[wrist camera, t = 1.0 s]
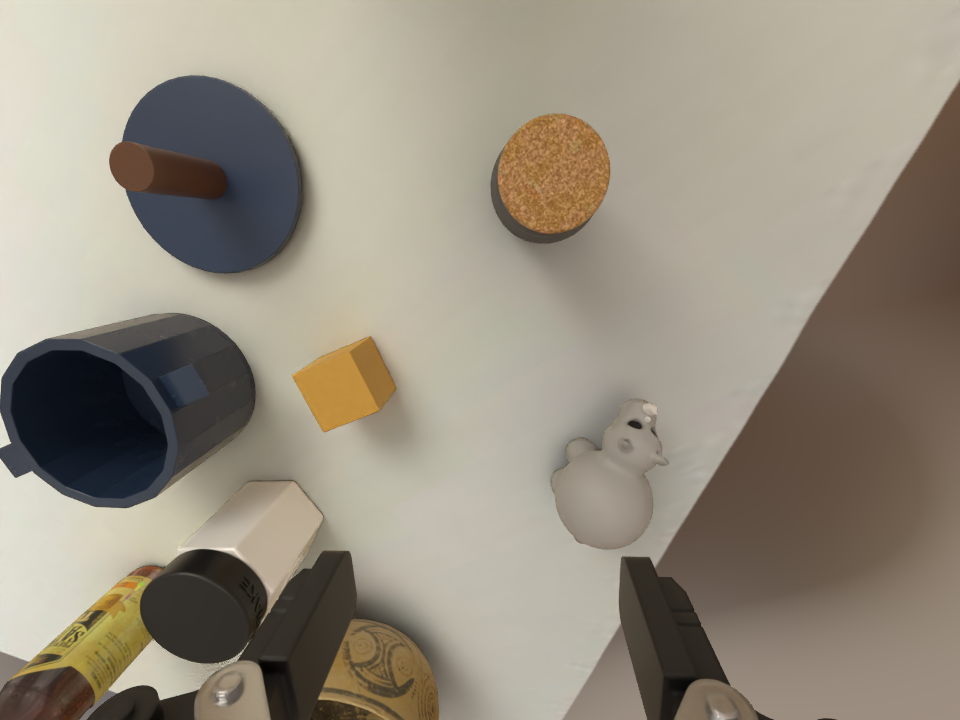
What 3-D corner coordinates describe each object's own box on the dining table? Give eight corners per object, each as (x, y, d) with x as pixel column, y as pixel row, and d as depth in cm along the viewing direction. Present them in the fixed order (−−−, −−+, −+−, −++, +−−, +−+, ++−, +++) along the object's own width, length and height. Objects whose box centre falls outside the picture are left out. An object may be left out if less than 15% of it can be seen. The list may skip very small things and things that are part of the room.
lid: (98, 131, 34) (-27, 102, 26) (246, 44, 32) (157, -17, 24) (195, 297, 37) (110, 315, 29) (337, 230, 35) (284, 229, 27)
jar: (303, 567, 44) (229, 685, 33) (227, 532, 44) (125, 640, 32) (335, 498, 42) (266, 601, 30) (255, 461, 41) (154, 550, 30)
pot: (68, 356, 40) (-65, 393, 30) (232, 277, 36) (138, 292, 27) (147, 473, 42) (47, 539, 33) (306, 409, 39) (243, 463, 30)
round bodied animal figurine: (679, 401, 36) (726, 450, 28) (609, 514, 40) (633, 586, 32) (600, 366, 36) (625, 405, 28) (536, 483, 40) (542, 548, 31)
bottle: (591, 212, 33) (649, 198, 19) (522, 255, 34) (527, 272, 20) (552, 140, 32) (582, 64, 17) (482, 186, 33) (457, 151, 19)
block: (319, 357, 38) (291, 375, 33) (370, 335, 37) (349, 351, 32) (346, 408, 39) (323, 432, 34) (396, 388, 38) (379, 410, 33)
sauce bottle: (152, 551, 45) (-112, 784, 26) (199, 590, 46) (-22, 843, 27) (117, 583, 47) (-155, 826, 28) (164, 621, 48) (-69, 880, 29)
